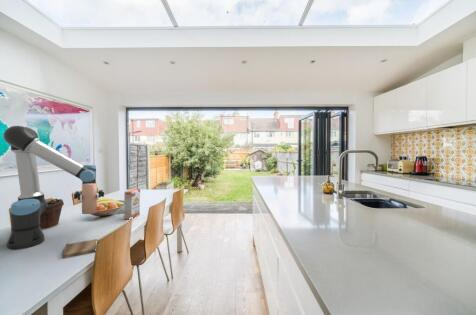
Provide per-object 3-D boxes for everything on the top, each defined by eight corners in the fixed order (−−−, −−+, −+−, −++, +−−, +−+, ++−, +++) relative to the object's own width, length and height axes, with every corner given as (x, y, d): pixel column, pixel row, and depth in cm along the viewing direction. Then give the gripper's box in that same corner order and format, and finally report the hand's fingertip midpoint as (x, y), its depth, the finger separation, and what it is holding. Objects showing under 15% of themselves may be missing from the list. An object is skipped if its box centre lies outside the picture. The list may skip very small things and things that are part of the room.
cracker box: (131, 219, 166) (131, 191, 165) (123, 219, 166) (123, 191, 165) (140, 214, 180) (140, 188, 179) (133, 214, 180) (133, 188, 179)
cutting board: (62, 258, 108) (62, 255, 108) (66, 247, 119) (66, 244, 119) (97, 251, 115) (97, 248, 115) (97, 241, 127) (97, 239, 127)
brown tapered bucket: (71, 221, 159) (70, 196, 159) (44, 231, 140) (43, 203, 139) (48, 220, 161) (48, 195, 160) (19, 230, 141) (17, 202, 141)
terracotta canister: (81, 214, 120) (81, 185, 120) (81, 211, 126) (82, 183, 126) (97, 213, 124) (97, 184, 124) (96, 210, 130) (96, 182, 130)
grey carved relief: (140, 211, 185) (139, 203, 186) (105, 217, 173) (104, 208, 173) (138, 209, 199) (138, 201, 199) (106, 214, 187) (105, 206, 187)
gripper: (107, 195, 145) (110, 203, 126) (69, 198, 134) (66, 207, 115) (107, 184, 145) (110, 189, 126) (69, 186, 134) (66, 192, 115)
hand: (89, 198), depth 121 cm, fingers closed on terracotta canister, 7 cm apart
